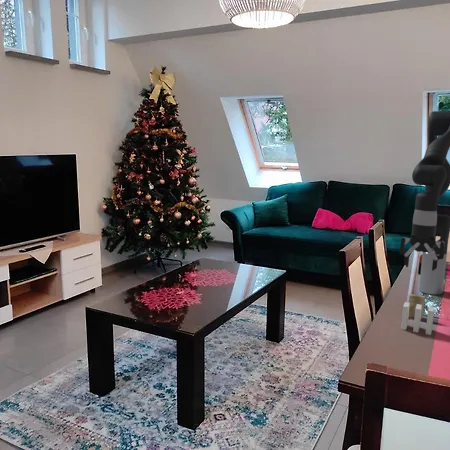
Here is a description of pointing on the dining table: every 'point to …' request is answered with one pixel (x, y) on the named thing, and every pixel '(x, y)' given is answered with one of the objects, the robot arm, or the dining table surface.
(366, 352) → the dining table surface
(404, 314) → the domino
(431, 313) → the domino
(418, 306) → the domino
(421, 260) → the battery
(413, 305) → the domino
